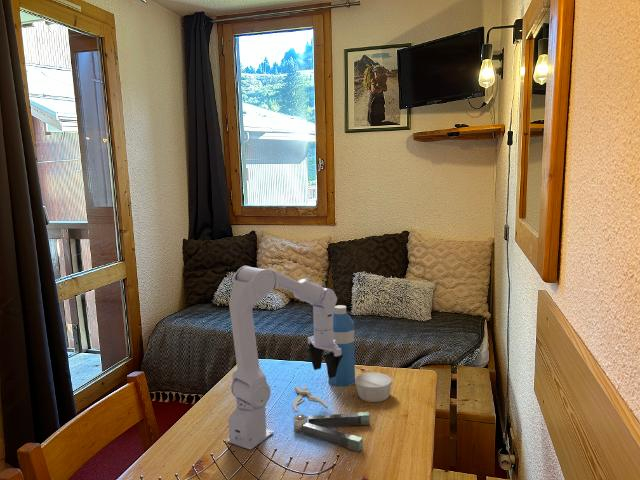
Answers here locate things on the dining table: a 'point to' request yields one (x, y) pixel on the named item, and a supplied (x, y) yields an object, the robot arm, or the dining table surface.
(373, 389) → the ramekin
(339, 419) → the arm
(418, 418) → the dining table surface
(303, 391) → the pliers
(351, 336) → the water bottle
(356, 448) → the tongs frame
